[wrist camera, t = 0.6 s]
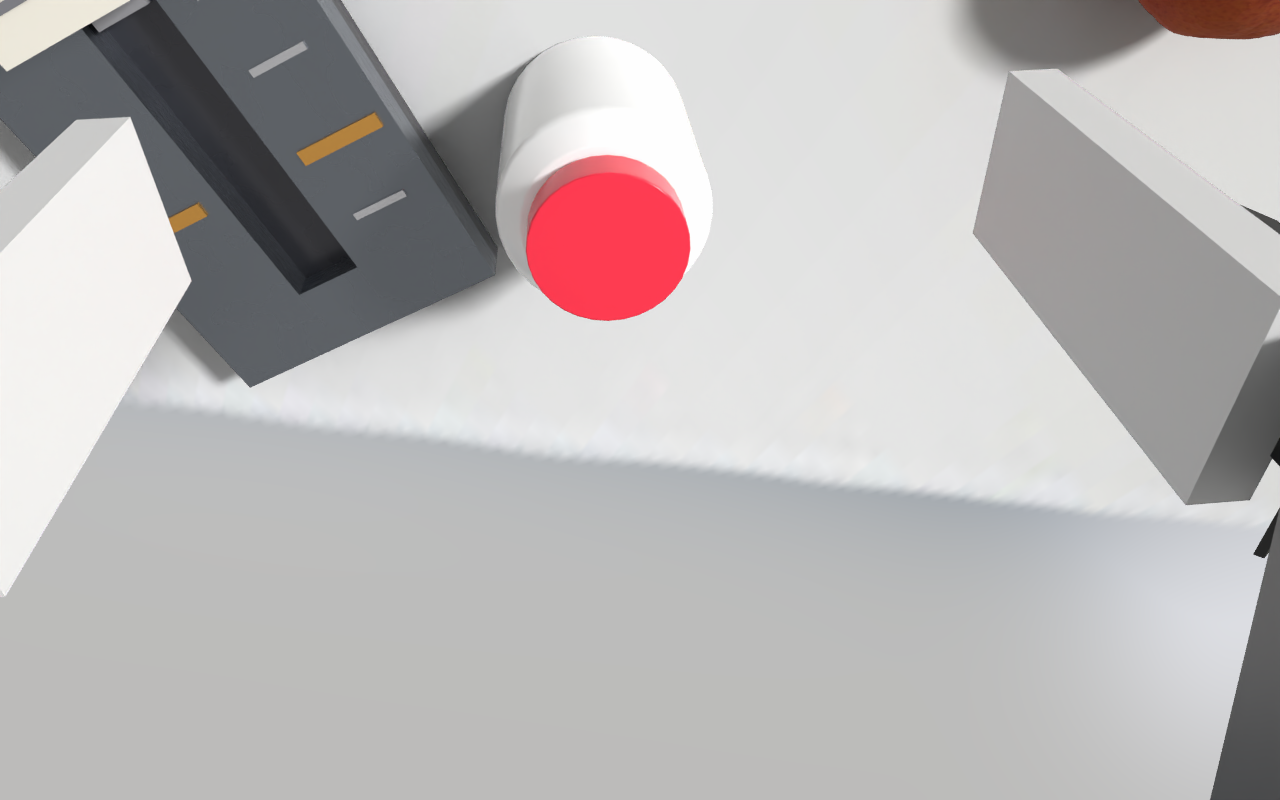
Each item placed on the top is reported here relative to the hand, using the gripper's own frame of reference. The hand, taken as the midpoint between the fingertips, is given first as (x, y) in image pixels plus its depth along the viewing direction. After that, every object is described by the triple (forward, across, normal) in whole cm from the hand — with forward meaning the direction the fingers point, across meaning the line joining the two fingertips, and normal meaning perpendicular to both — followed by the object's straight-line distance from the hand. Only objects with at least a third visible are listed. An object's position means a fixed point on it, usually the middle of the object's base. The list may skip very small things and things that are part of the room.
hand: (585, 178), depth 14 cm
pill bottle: (+25, +1, -9) cm, 26 cm away
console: (+25, -14, -6) cm, 29 cm away
